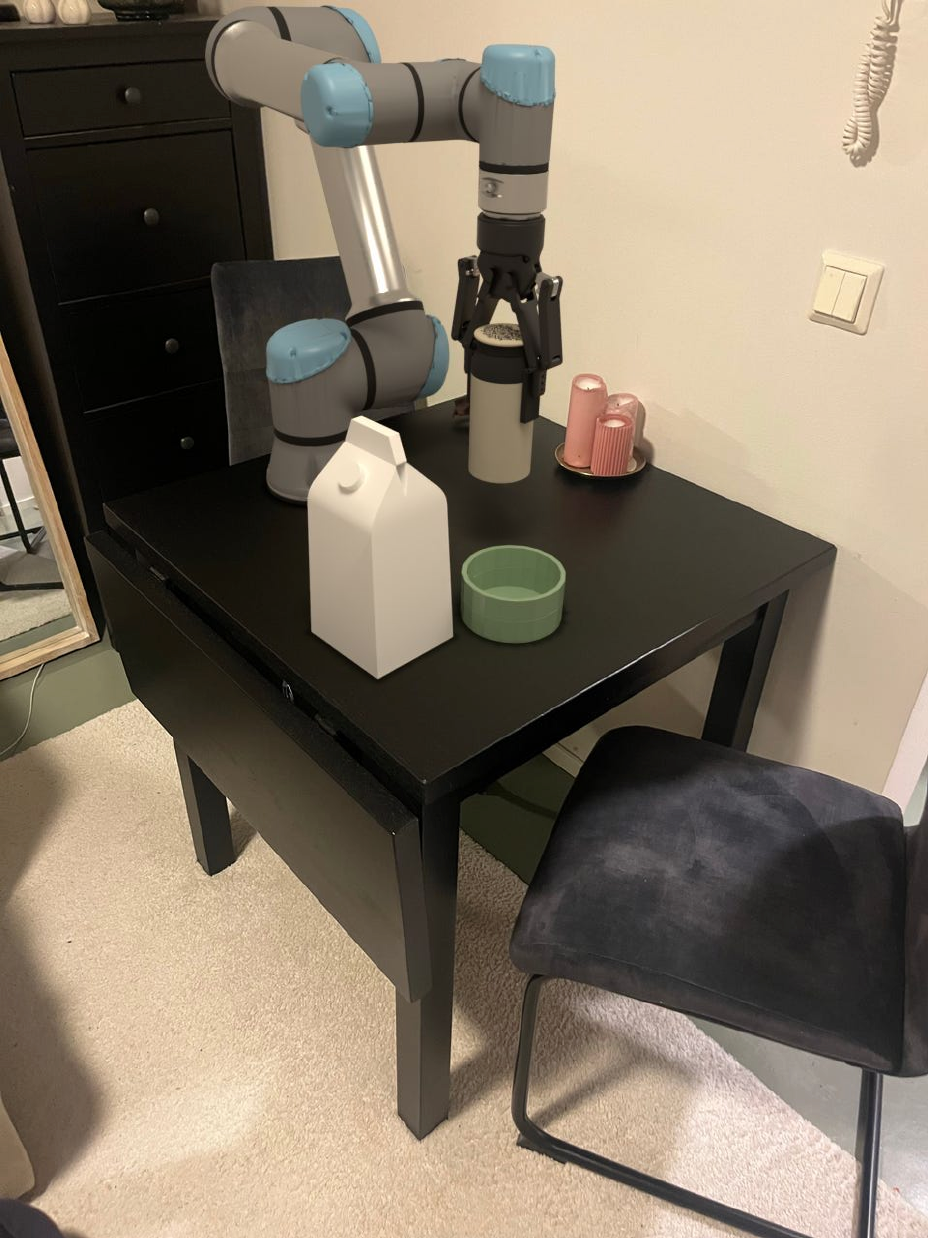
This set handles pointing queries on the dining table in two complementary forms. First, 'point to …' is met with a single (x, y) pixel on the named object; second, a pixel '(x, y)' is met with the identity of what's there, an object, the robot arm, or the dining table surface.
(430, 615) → the milk
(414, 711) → the dining table surface
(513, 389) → the travel mug
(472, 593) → the pot
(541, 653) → the dining table surface
